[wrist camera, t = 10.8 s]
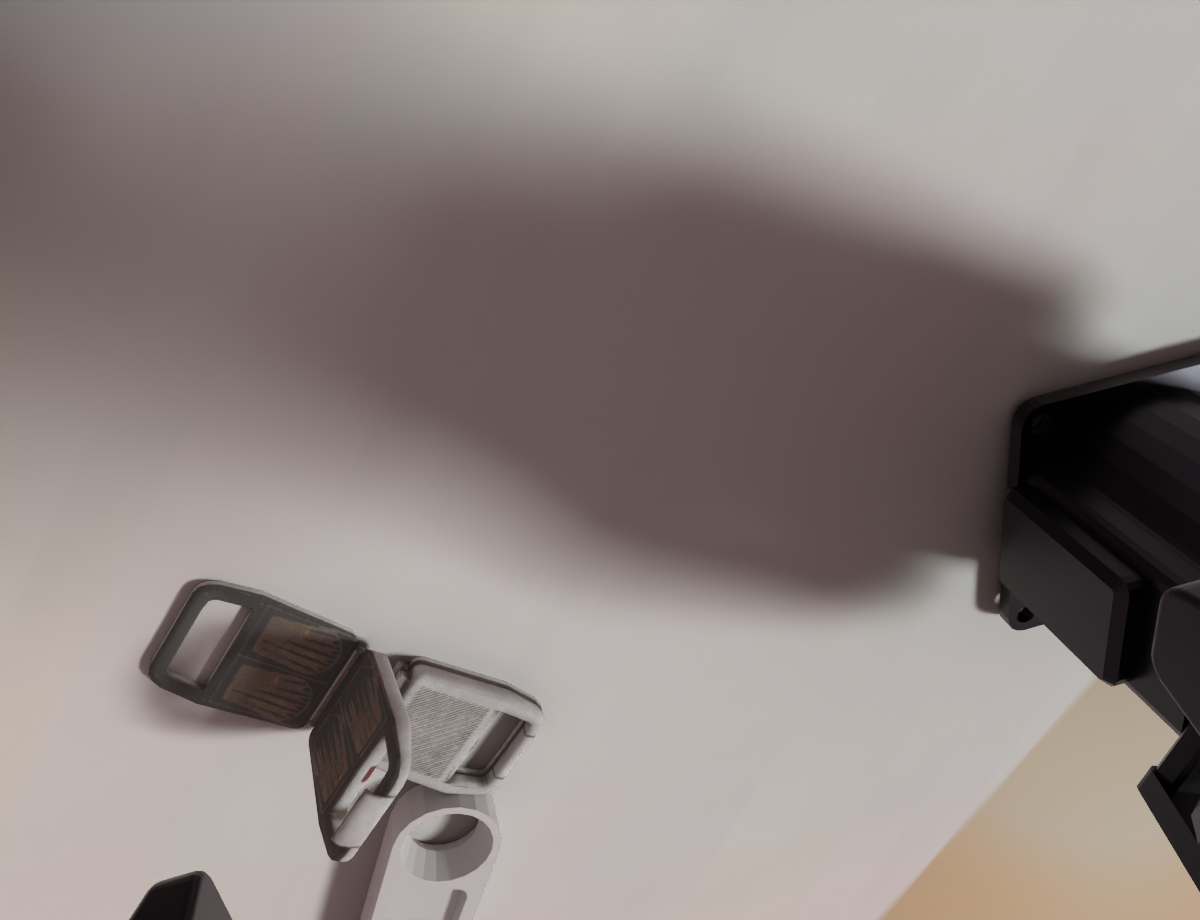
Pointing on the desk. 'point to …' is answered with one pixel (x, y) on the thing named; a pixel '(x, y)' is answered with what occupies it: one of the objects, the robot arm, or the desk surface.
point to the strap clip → (351, 707)
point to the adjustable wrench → (433, 860)
